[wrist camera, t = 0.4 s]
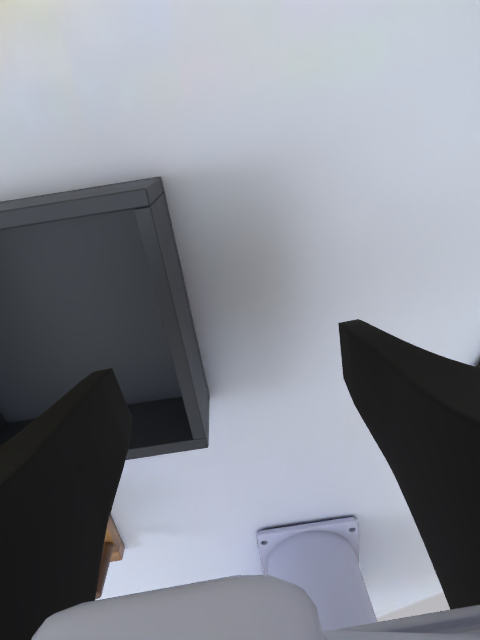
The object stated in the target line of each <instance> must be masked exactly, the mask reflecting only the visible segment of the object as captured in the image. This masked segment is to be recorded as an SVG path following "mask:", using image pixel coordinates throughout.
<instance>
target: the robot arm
mask: <svg viewBox="0 0 480 640" xmlns="http://www.w3.org/2000/svg"><path fill="white" fill-rule="evenodd" d="M339 334H340V345H341V356H342V367H343V378H344V380H345V383H346V385H347V388H348V390H349V393H350V395H351V398H352V400H353V402H354V405H355V406H356V408H357V410H358V412H359V413H360V415H361V417H362V419H363V420H364V422H365V424H366V426H367V427H368V429H369V431H370V433H371V434H372V436H373V438H374V439H375V441H376V443H377V445H378V446H379V448H380V450H381V451H382V453H383V455H384V457H385V458H386V460H387V462H388V464H389V466H390V468H391V470H392V471H393V473H394V475H395V478H396V480H397V482H398V484H399V486H400V489H401V491H402V493H403V495H404V498H405V500H406V502H407V504H408V507H409V509H410V511H411V514H412V516H413V518H414V521H415V523H416V525H417V528H418V530H419V532H420V535H421V537H422V539H423V542H424V544H425V547H426V549H427V552H428V554H429V557H430V559H431V562H432V564H433V566H434V569H435V571H436V574H437V576H438V579H439V581H440V584H441V586H442V589H443V591H444V594H445V597H446V599H447V602H448V604H449V607H450V610H446V611H440V612H434V613H428V614H423V615H417V616H412V617H405V618H399V619H393V620H388V621H382V622H377V619H376V616H375V613H374V610H373V607H372V604H371V601H370V598H369V595H368V592H367V589H366V586H365V583H364V580H363V577H362V574H361V571H360V568H359V544H358V522H357V519H356V518H354V517H349V518H342V519H335V520H328V521H322V522H315V523H308V524H302V525H295V526H288V527H281V528H275V529H268V530H262V531H259V532H258V533H257V541H258V546H259V551H260V557H261V562H262V567H263V572H264V575H237V576H231V577H225V578H220V579H214V580H208V581H203V582H197V583H192V584H186V585H180V586H175V587H169V588H163V589H158V590H152V591H147V592H141V593H135V594H130V595H124V596H119V597H113V598H107V599H102V600H96V601H95V598H96V591H97V584H98V577H99V571H100V564H101V558H102V552H103V546H104V541H105V535H106V529H107V525H108V521H109V516H110V512H111V509H112V505H113V502H114V498H115V495H116V491H117V488H118V484H119V481H120V477H121V474H122V471H123V467H124V463H125V460H126V456H127V452H128V449H129V443H130V436H131V428H132V419H133V418H132V416H131V413H130V411H129V408H128V406H127V403H126V401H125V398H124V396H123V393H122V391H121V388H120V386H119V384H118V381H117V379H116V376H115V374H114V371H113V369H112V368H110V369H105V370H99V371H94V372H92V373H91V374H89V375H88V376H87V377H85V378H84V379H83V380H81V381H80V382H79V383H78V384H77V385H75V386H74V387H73V388H72V389H71V390H70V391H68V392H67V393H66V394H65V395H64V396H63V397H61V398H60V399H59V400H58V401H57V402H56V403H54V404H53V405H52V406H51V407H50V408H49V409H47V410H46V411H45V412H44V413H43V414H41V415H40V416H39V417H38V418H36V419H35V420H34V421H33V422H31V423H30V424H29V425H28V426H26V427H25V428H24V429H23V430H21V431H20V432H19V433H18V434H16V435H15V436H14V437H12V438H11V439H10V440H8V441H7V442H5V443H4V444H3V445H1V446H0V640H480V368H478V367H474V366H471V365H467V364H464V363H461V362H458V361H454V360H451V359H448V358H445V357H442V356H439V355H437V354H434V353H432V352H429V351H427V350H424V349H422V348H419V347H417V346H414V345H412V344H410V343H408V342H405V341H403V340H401V339H399V338H397V337H395V336H392V335H390V334H388V333H386V332H384V331H382V330H380V329H378V328H376V327H374V326H372V325H370V324H368V323H366V322H364V321H361V320H359V319H357V320H352V321H347V322H342V323H339Z"/></svg>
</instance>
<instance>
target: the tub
mask: <svg viewBox="0 0 480 640" xmlns="http://www.w3.org/2000/svg"><path fill="white" fill-rule="evenodd" d="M110 368H112V369H113V371H114V374H115V376H116V379H117V381H118V384H119V386H120V388H121V391H122V393H123V396H124V398H125V401H126V403H127V406H128V408H129V411H130V413H131V416H132V418H133V419H132V428H131V436H130V443H129V449H128V452H127V456H126V460H129V459H136V458H142V457H149V456H156V455H162V454H169V453H175V452H182V451H189V450H195V449H202V448H207V447H208V440H209V400H210V396H209V391H208V387H207V382H206V378H205V373H204V369H203V364H202V360H201V355H200V351H199V346H198V342H197V337H196V333H195V328H194V324H193V319H192V315H191V310H190V305H189V301H188V296H187V292H186V287H185V283H184V278H183V274H182V269H181V265H180V260H179V256H178V251H177V247H176V242H175V238H174V233H173V229H172V224H171V219H170V215H169V210H168V206H167V201H166V197H165V192H164V188H163V183H162V179H161V177H154V178H148V179H142V180H135V181H129V182H123V183H116V184H110V185H104V186H98V187H91V188H85V189H79V190H72V191H66V192H60V193H54V194H47V195H41V196H35V197H28V198H22V199H16V200H10V201H3V202H0V446H1V445H3V444H4V443H5V442H7V441H8V440H10V439H11V438H12V437H14V436H15V435H16V434H18V433H19V432H20V431H21V430H23V429H24V428H25V427H26V426H28V425H29V424H30V423H31V422H33V421H34V420H35V419H36V418H38V417H39V416H40V415H41V414H43V413H44V412H45V411H46V410H47V409H49V408H50V407H51V406H52V405H53V404H54V403H56V402H57V401H58V400H59V399H60V398H61V397H63V396H64V395H65V394H66V393H67V392H68V391H70V390H71V389H72V388H73V387H74V386H75V385H77V384H78V383H79V382H80V381H81V380H83V379H84V378H85V377H87V376H88V375H89V374H91V373H92V372H94V371H99V370H105V369H110Z"/></svg>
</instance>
